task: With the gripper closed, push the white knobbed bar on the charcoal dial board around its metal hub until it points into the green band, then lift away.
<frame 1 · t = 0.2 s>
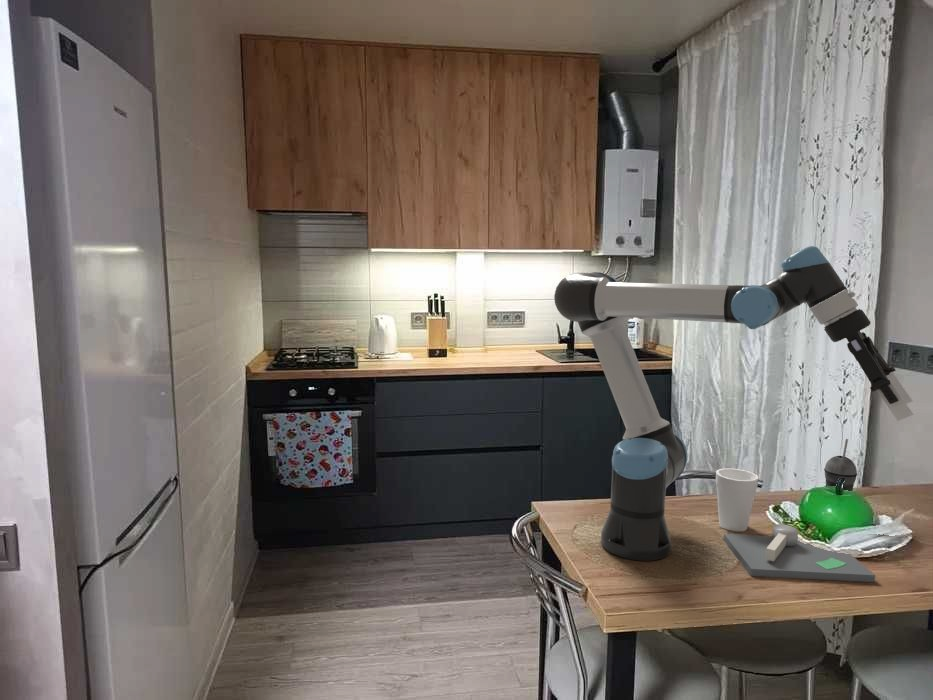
hand: (905, 410, 119), 35 cm above the table, tool tilted 35°, fingers open, 13 cm apart
foam cup: (733, 526, 151), on the table
dial board: (793, 559, 133), on the table
beverage cup: (836, 516, 158), on the table
white knobbed bar: (779, 542, 134), point 3 cm above the table, hinge at -125.0°
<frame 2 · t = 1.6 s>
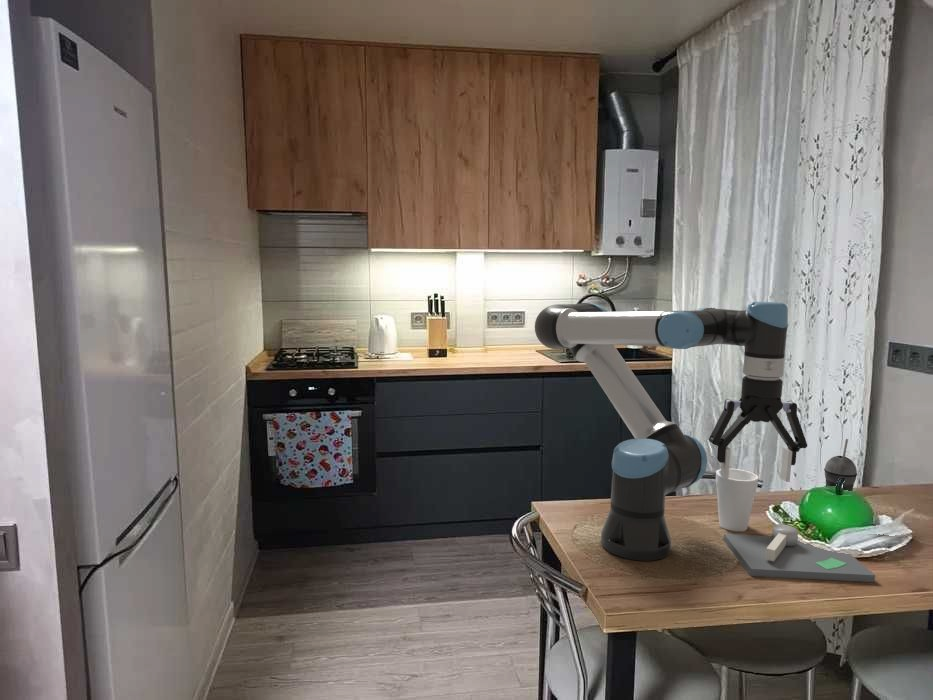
hand: (754, 478, 130), 18 cm above the table, tool pointing down, fingers open, 12 cm apart
nothing on the table moved.
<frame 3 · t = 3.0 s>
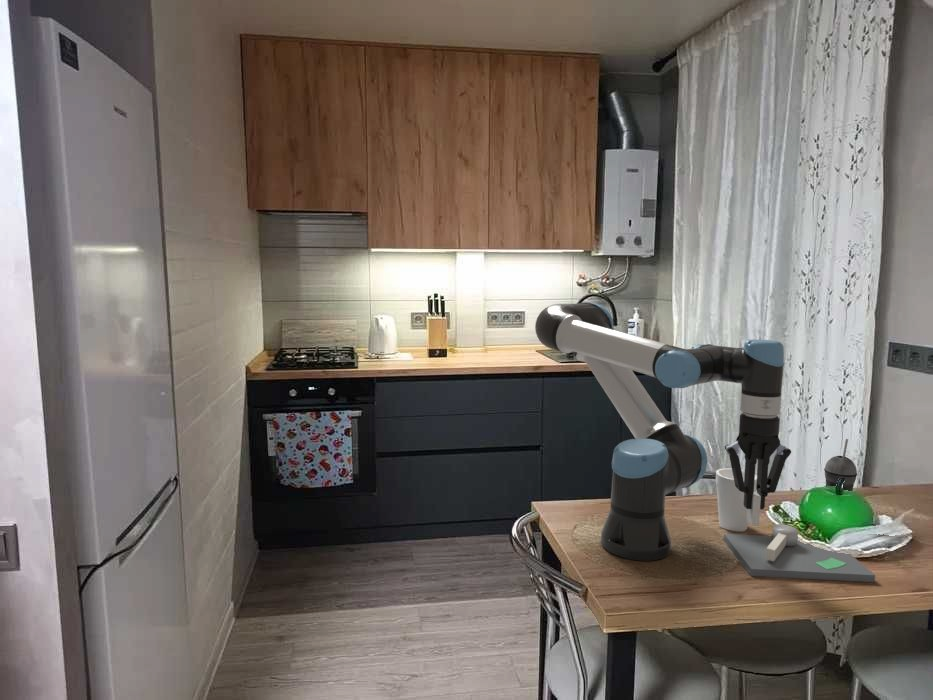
hand: (752, 523, 131), 8 cm above the table, tool pointing down, fingers closed
nothing on the table moved.
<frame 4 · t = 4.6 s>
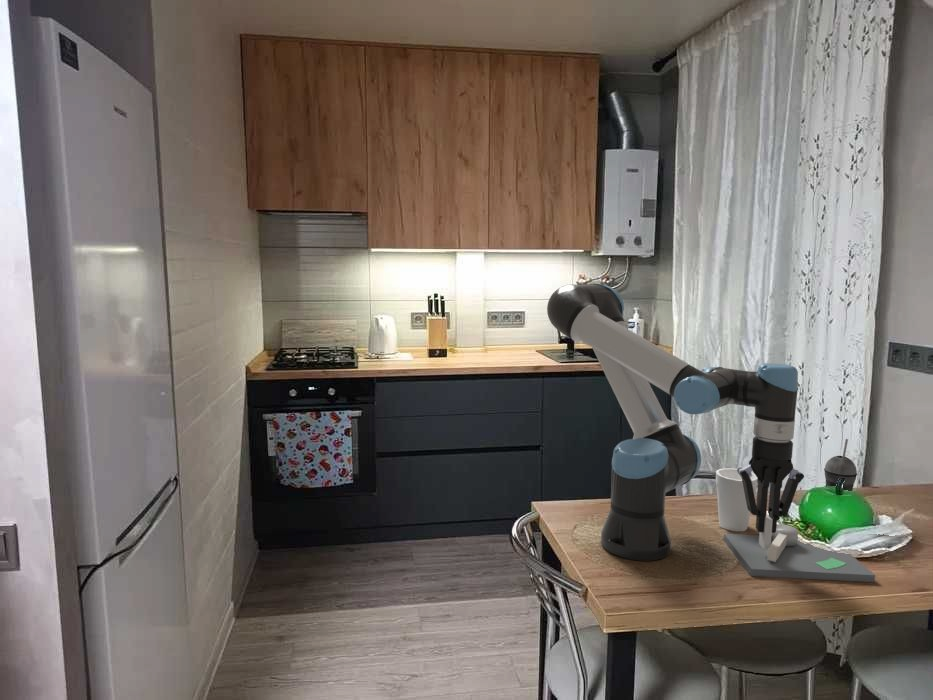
hand: (764, 546, 131), 4 cm above the table, tool pointing down, fingers closed
white knobbed bar: (779, 542, 134), point 3 cm above the table, hinge at -123.5°, touching gripper
everything else where it was.
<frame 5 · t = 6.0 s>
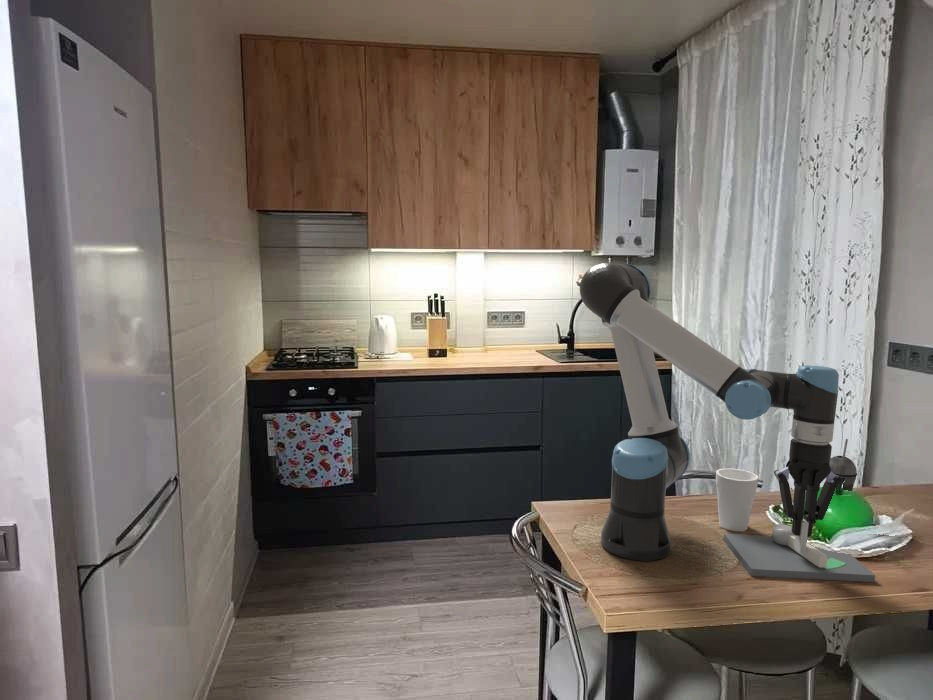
hand: (799, 550, 130), 3 cm above the table, tool pointing down, fingers closed
white knobbed bar: (799, 544, 133), point 3 cm above the table, hinge at -78.5°, touching gripper
everything else where it was.
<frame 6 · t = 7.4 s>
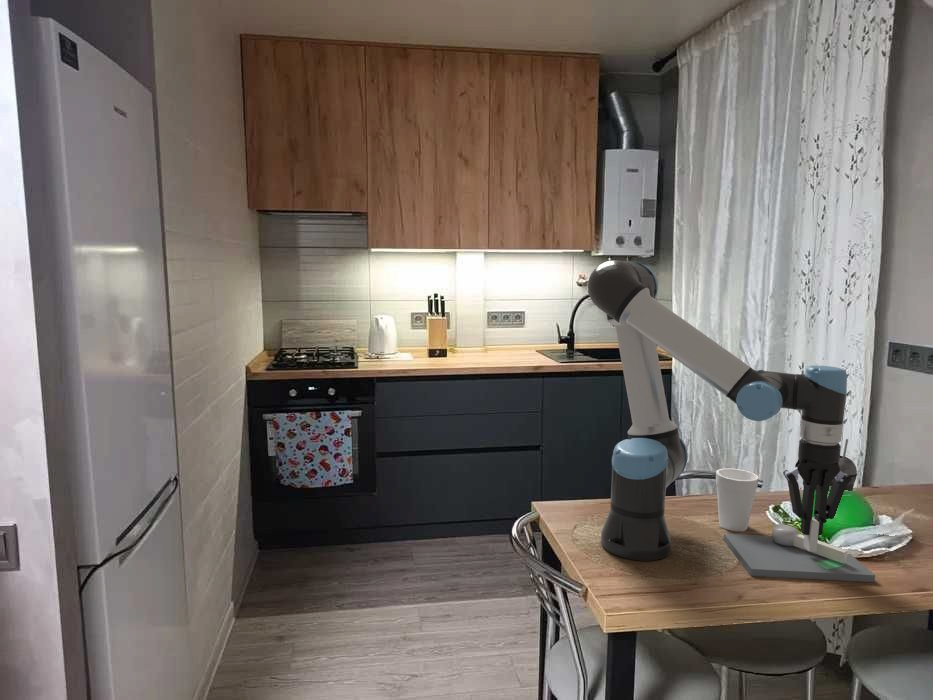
hand: (809, 548, 131), 3 cm above the table, tool pointing down, fingers closed
white knobbed bar: (808, 542, 134), point 3 cm above the table, hinge at -49.3°
everything else where it was.
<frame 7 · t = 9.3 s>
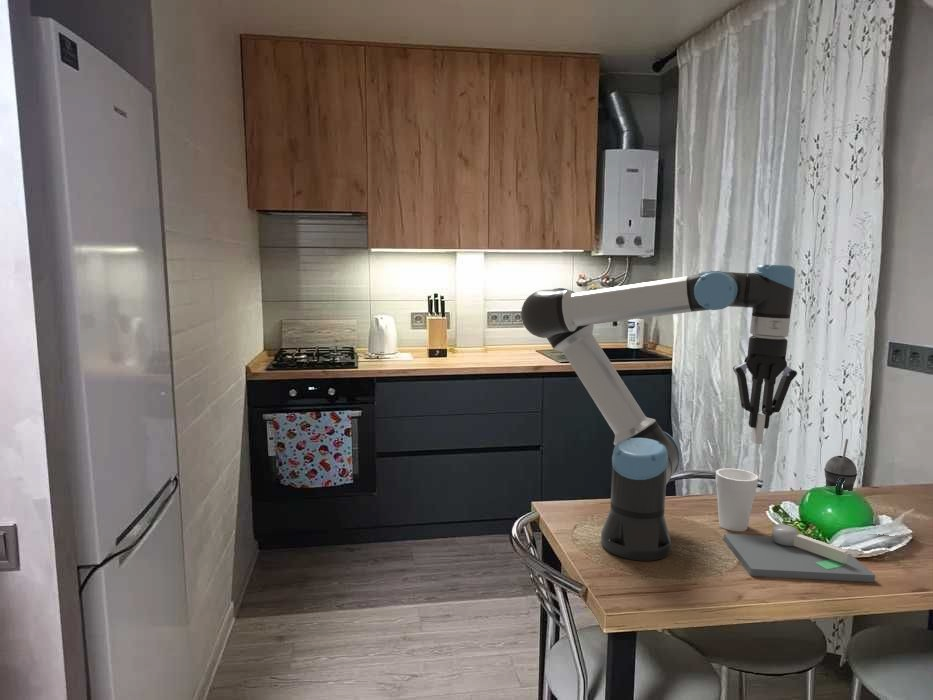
hand: (756, 441, 137), 24 cm above the table, tool pointing down, fingers closed
nothing on the table moved.
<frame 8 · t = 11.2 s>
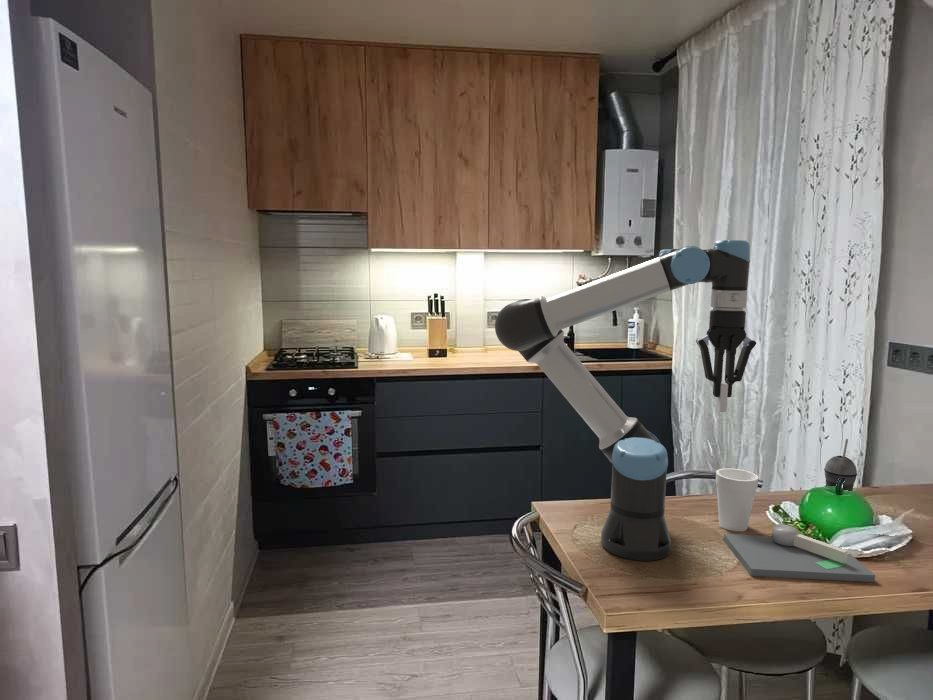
hand: (721, 410, 143), 29 cm above the table, tool pointing down, fingers closed
nothing on the table moved.
at the end: white knobbed bar at -49° (first picture: -125°); beverage cup tilted 0° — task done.
